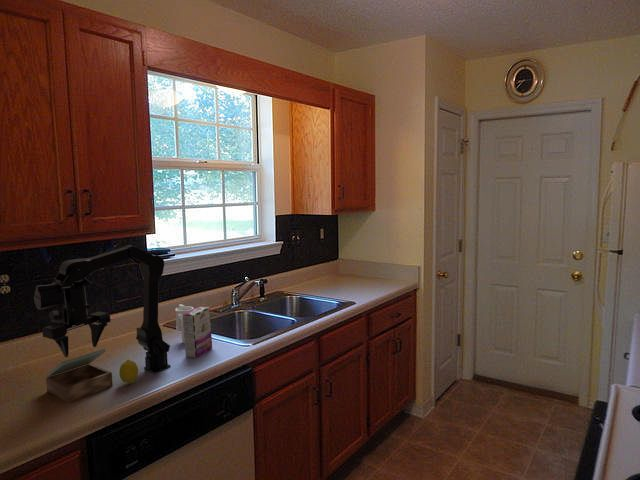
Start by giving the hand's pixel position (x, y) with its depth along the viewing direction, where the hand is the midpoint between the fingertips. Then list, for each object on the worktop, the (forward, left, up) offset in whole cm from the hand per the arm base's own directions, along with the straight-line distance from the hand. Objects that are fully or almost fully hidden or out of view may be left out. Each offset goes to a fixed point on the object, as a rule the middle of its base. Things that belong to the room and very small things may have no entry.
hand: (80, 351), depth 144 cm
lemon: (-11, +6, -13) cm, 19 cm away
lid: (0, -4, -5) cm, 6 cm away
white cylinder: (-47, -12, -13) cm, 50 cm away
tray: (0, -3, -13) cm, 13 cm away
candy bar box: (-42, +2, -13) cm, 44 cm away
